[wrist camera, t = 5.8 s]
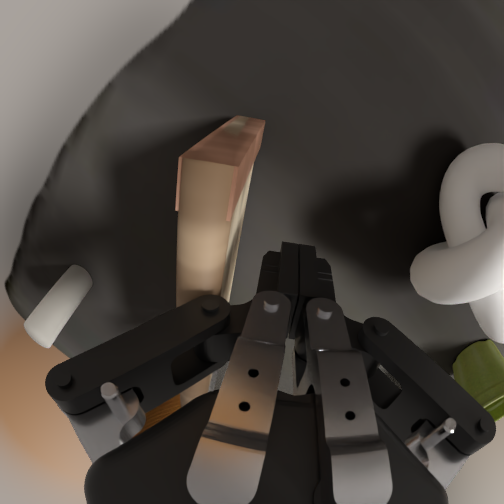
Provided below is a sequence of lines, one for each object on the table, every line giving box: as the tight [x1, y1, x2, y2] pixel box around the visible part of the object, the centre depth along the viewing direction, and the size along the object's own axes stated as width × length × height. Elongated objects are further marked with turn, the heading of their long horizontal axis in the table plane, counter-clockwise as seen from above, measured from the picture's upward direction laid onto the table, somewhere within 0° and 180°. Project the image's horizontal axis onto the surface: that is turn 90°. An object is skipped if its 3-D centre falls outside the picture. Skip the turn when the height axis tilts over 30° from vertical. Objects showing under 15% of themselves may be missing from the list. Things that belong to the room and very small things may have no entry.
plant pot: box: [453, 339, 504, 422], centre depth 21 cm, size 9×9×9 cm
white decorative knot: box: [410, 143, 504, 344], centre depth 13 cm, size 11×12×9 cm
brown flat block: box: [175, 116, 265, 407], centre depth 15 cm, size 16×2×10 cm, turn 170°
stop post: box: [24, 265, 93, 348], centre depth 21 cm, size 3×3×8 cm
